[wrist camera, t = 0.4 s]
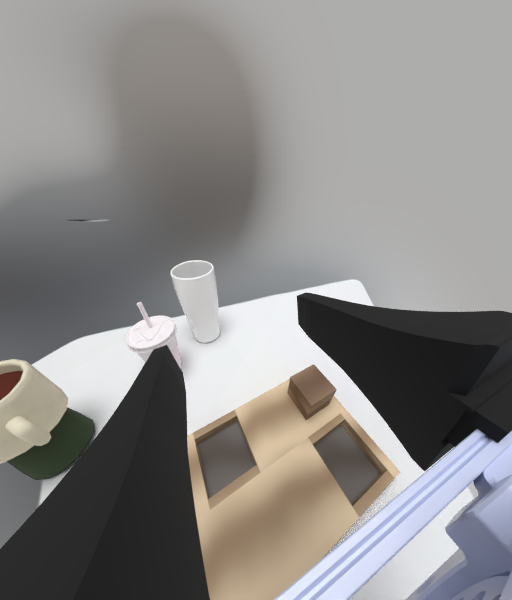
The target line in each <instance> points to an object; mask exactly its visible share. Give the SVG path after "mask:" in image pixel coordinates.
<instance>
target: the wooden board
mask: <svg viewBox="0 0 512 600" xmlns="http://www.w3.org/2000/svg"><path fill="white" fill-rule="evenodd" d="M289 381H290V379H289V380H287V381H286V382H284V383H282V384H280V385H278V386H277V387H275V388H273V389H271V390H269V391H268V392H266V393H264V394H262V395H260V396H259V397H257V398H255V399H253V400H251V401H250V402H248V403H246V404H244V405H243V406H241V407H239V408H237V409H235V410H234V411H232V412H230V413H228V414H226V415H225V416H223V417H221V418H219V419H217V420H216V421H214V422H212V423H210V424H208V425H207V426H205V427H203V428H201V429H199V430H198V431H196V432H194V433H192V434H190V435H189V436H187V446H188V458H189V466H190V475H191V483H192V490H193V497H194V505H195V512H196V518H197V525H198V531H199V538H200V544H201V551H202V556H203V562H204V568H205V574H206V580H207V586H208V591H209V597H210V600H274V599H275V598H276V597H278V596H279V595H280V594H281V593H282V592H283V591H285V590H286V589H287V588H288V587H289V586H291V585H292V584H293V583H294V582H295V581H297V580H298V579H299V578H300V577H301V576H303V575H304V574H305V573H306V572H307V571H308V570H310V569H311V568H312V567H313V566H314V565H316V564H317V563H318V562H319V561H320V560H321V559H322V558H323V557H324V556H325V555H326V554H327V553H328V552H329V551H330V549H331V548H332V547H333V546H334V545H335V544H336V543H337V542H338V541H339V539H340V538H341V537H342V536H343V535H344V534H345V533H346V532H347V531H348V529H349V528H350V527H351V526H352V525H353V524H354V523H355V522H356V521H357V519H358V518H359V517H360V516H361V515H362V514H363V513H364V512H365V511H366V509H367V508H368V507H369V506H370V505H371V504H372V503H373V502H374V501H375V500H376V498H377V497H378V496H379V495H380V494H381V493H382V492H383V491H384V490H385V488H386V487H387V486H388V485H389V484H390V483H391V482H392V481H393V480H394V478H395V477H396V476H397V475H398V474H399V473H400V471H399V470H398V469H397V468H396V467H395V465H394V464H393V463H392V462H391V461H390V460H389V459H388V457H387V456H386V455H385V454H384V453H383V452H382V451H381V449H380V448H379V447H378V446H377V445H376V444H375V442H374V441H373V440H372V439H371V438H370V437H369V436H368V434H367V433H366V432H365V431H364V430H363V429H362V428H361V426H360V425H359V424H358V423H357V422H356V421H355V419H354V418H353V417H352V416H351V415H350V414H349V413H348V411H347V410H346V409H345V408H344V407H343V406H342V405H341V403H340V402H339V401H338V400H337V399H336V398H335V397H334V396H333V398H332V400H331V402H330V404H329V405H328V406H326V407H325V408H323V409H322V410H321V411H319V412H318V413H316V414H315V415H313V416H312V417H310V418H309V419H307V420H305V418H304V417H303V415H302V414H301V412H300V411H299V409H298V408H297V406H296V405H295V403H294V402H293V400H292V399H291V397H290V396H289V395H288V393H287V392H288V387H289Z"/></svg>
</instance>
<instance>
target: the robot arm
mask: <svg viewBox="0 0 512 600" xmlns="http://www.w3.org/2000/svg"><path fill="white" fill-rule="evenodd" d="M297 305H298V322H299V325H300V327H301V328H302V329H303V330H304V332H305V333H306V334H307V335H308V337H309V338H310V339H311V340H312V341H313V342H314V343H316V344H317V345H318V346H319V347H320V348H321V349H322V350H323V351H324V352H325V353H326V354H327V355H328V356H329V357H330V358H331V359H332V360H334V361H335V362H336V363H337V364H338V365H339V366H340V367H341V368H342V369H343V370H344V371H345V373H346V374H347V375H348V376H349V377H350V378H351V380H352V381H353V382H354V383H355V384H356V385H357V386H358V388H359V389H360V390H361V391H362V393H363V394H364V395H365V396H366V397H367V399H368V400H369V401H370V402H371V403H372V405H373V406H374V407H375V409H376V410H377V411H378V413H379V414H380V415H381V416H382V418H383V419H384V420H385V422H386V423H387V424H388V426H389V427H390V428H391V430H392V431H393V432H394V434H395V435H396V437H397V438H398V439H399V441H400V442H401V443H402V445H403V446H404V448H405V449H406V451H407V452H408V453H409V455H410V456H411V458H412V459H413V460H414V461H415V462H416V463H417V464H418V465H419V466H420V467H421V468H422V469H423V470H424V471H426V470H427V469H428V468H429V467H430V466H432V465H433V464H434V463H435V462H436V461H438V460H439V459H440V458H441V457H442V456H443V455H445V454H446V453H447V452H448V451H449V450H451V449H452V448H453V447H455V448H454V449H452V450H451V451H450V452H449V453H448V454H446V455H445V456H444V457H443V458H442V459H440V460H439V461H438V462H437V463H436V464H435V465H433V466H432V467H431V468H430V469H429V470H427V471H426V472H425V473H424V474H423V475H421V476H420V477H419V478H418V479H417V480H415V481H414V482H413V483H412V484H411V485H410V486H408V487H407V488H406V489H405V490H404V491H402V492H401V493H400V494H399V495H398V496H396V497H395V498H394V499H393V500H392V501H391V502H389V503H388V504H387V505H386V506H385V507H383V508H382V509H381V510H380V511H379V512H377V513H376V514H375V515H374V516H373V517H371V518H370V519H369V520H368V521H367V522H366V523H364V524H363V525H362V526H361V527H360V528H358V529H357V530H356V531H355V532H354V533H352V534H351V535H350V536H349V537H348V538H347V539H345V540H344V541H343V542H342V543H341V544H339V545H338V546H337V547H336V548H335V549H333V550H332V551H331V552H330V553H329V554H327V555H326V556H325V557H324V558H323V559H322V560H320V561H319V562H318V563H317V564H316V565H314V566H313V567H312V568H311V569H310V570H308V571H307V572H306V573H305V574H304V575H303V576H301V577H300V578H299V579H298V580H297V581H295V582H294V583H293V584H292V585H291V586H289V587H288V588H287V589H286V590H285V591H283V592H282V593H281V594H280V595H279V596H278V597H276V598H275V599H274V600H349V599H350V598H351V597H352V596H353V595H354V594H355V593H356V592H357V591H358V590H359V589H360V588H361V587H362V586H363V585H364V584H366V583H367V582H368V581H369V580H370V579H371V578H372V577H373V576H374V575H375V574H376V573H377V572H378V571H379V570H380V569H381V568H382V567H383V566H384V565H385V564H386V563H388V562H389V561H390V560H391V559H392V558H393V557H394V556H395V555H396V554H397V553H398V552H399V551H400V550H401V549H402V548H403V547H404V546H405V545H406V544H407V543H409V542H410V541H411V540H412V539H413V538H414V537H415V536H416V535H417V534H418V533H419V532H420V531H421V530H422V529H423V528H424V527H425V526H426V525H427V524H428V523H429V522H431V521H432V520H433V519H434V518H435V517H436V516H437V515H438V514H439V513H440V512H441V511H442V510H443V509H444V508H445V507H446V506H447V505H448V504H449V503H450V502H451V501H453V500H454V499H455V498H456V497H457V496H458V495H459V494H460V493H461V492H462V491H463V490H464V489H465V488H466V487H467V486H468V485H469V484H470V483H471V482H472V481H474V485H475V487H476V489H477V490H478V493H479V496H477V497H476V498H475V499H474V500H472V501H471V502H470V503H468V504H467V505H466V506H465V507H463V508H462V509H461V510H460V511H459V512H458V513H457V514H456V515H455V516H454V517H453V519H452V520H451V521H450V522H449V524H448V525H447V526H446V527H445V529H446V533H447V534H448V535H449V536H450V538H451V539H452V540H453V541H454V542H455V543H456V545H457V546H458V547H459V549H458V550H457V551H456V552H455V553H454V554H453V555H452V556H451V557H450V558H449V559H448V560H447V561H446V562H445V563H444V564H443V565H442V566H441V567H440V568H438V569H437V570H436V571H435V572H434V573H433V574H432V575H431V576H430V577H429V578H428V579H427V580H426V581H425V582H424V583H423V584H422V585H421V586H420V587H419V588H418V589H416V590H415V591H414V592H413V593H412V594H411V595H410V596H409V597H408V598H407V599H406V600H512V313H509V312H504V311H481V312H427V311H411V310H398V309H389V308H381V307H374V306H367V305H362V304H357V303H352V302H347V301H342V300H338V299H334V298H330V297H325V296H321V295H317V294H312V293H304V294H301V295H298V296H297ZM0 600H210V597H209V591H208V586H207V580H206V574H205V568H204V562H203V556H202V551H201V544H200V538H199V531H198V525H197V518H196V512H195V505H194V497H193V490H192V483H191V475H190V466H189V458H188V446H187V412H186V390H185V383H184V377H183V372H182V371H181V369H180V367H179V365H178V364H177V362H176V360H175V358H174V356H173V355H172V353H171V351H170V349H169V347H168V346H167V345H164V346H162V347H159V348H156V349H154V350H153V351H152V353H151V354H150V356H149V358H148V359H147V361H146V363H145V365H144V366H143V368H142V370H141V371H140V373H139V375H138V377H137V378H136V380H135V381H134V383H133V385H132V386H131V388H130V390H129V391H128V393H127V394H126V396H125V397H124V399H123V400H122V402H121V403H120V405H119V406H118V408H117V409H116V411H115V412H114V414H113V415H112V417H111V418H110V419H109V421H108V422H107V424H106V425H105V426H104V428H103V429H102V430H101V432H100V433H99V434H98V436H97V437H96V438H95V440H94V441H93V442H92V444H91V445H90V446H89V447H88V449H87V450H86V451H85V453H84V454H83V455H82V456H81V458H80V459H79V460H78V461H77V462H76V464H75V465H74V466H73V467H72V468H71V469H70V471H69V472H68V473H67V474H66V475H65V477H64V478H63V479H62V480H61V481H60V483H59V484H58V485H57V486H56V487H55V489H54V490H53V491H52V492H51V493H50V494H49V496H48V497H47V498H46V499H45V500H44V501H43V503H42V504H41V505H40V506H39V507H38V508H37V509H36V510H35V512H34V513H33V514H32V515H31V516H30V517H29V518H28V519H27V520H26V522H25V523H24V524H23V525H22V526H21V527H20V529H19V530H17V532H16V533H15V534H14V535H13V536H12V537H11V538H10V539H9V540H8V541H7V543H5V545H4V546H3V547H2V548H1V549H0Z"/></svg>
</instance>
